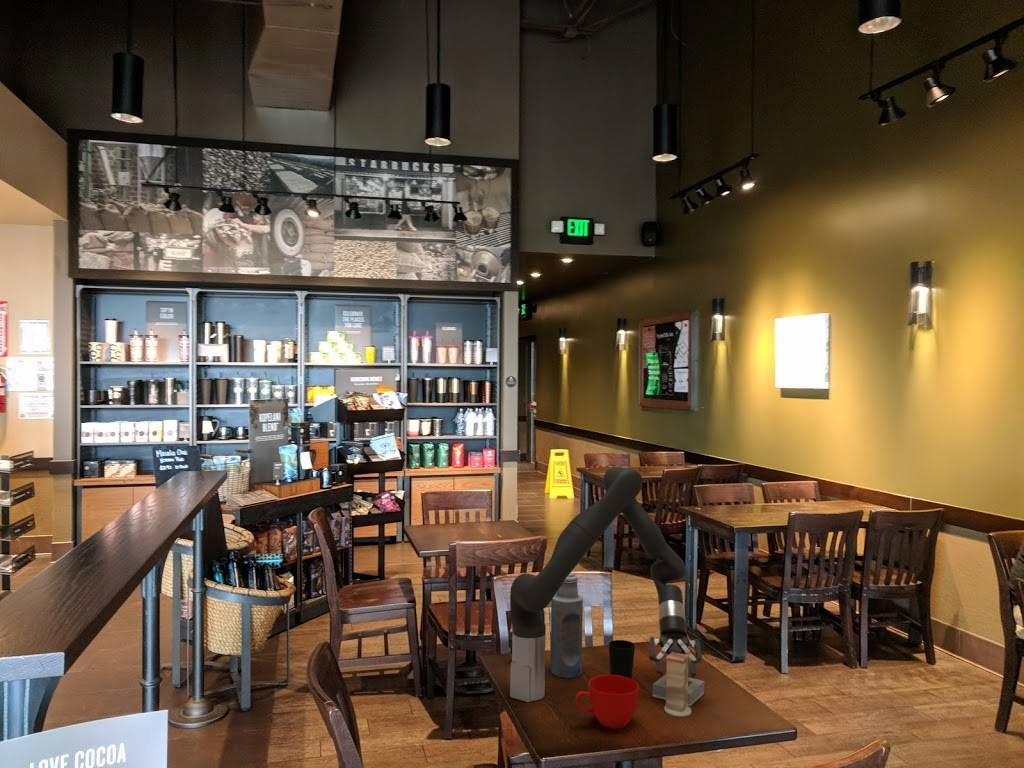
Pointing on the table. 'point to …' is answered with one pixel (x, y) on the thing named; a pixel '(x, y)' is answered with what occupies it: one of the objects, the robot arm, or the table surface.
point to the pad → (679, 714)
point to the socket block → (693, 689)
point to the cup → (621, 657)
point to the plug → (677, 682)
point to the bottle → (566, 630)
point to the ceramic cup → (612, 699)
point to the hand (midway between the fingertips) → (677, 675)
